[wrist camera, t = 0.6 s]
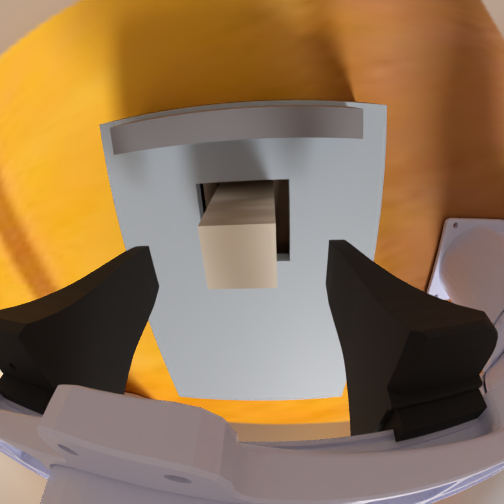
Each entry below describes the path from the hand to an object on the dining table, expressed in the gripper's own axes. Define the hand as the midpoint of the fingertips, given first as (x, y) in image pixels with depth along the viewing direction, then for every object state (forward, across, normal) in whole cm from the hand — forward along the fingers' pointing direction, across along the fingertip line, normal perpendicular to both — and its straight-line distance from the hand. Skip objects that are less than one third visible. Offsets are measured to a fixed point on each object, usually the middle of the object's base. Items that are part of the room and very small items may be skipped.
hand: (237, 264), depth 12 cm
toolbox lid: (+5, 0, +5) cm, 7 cm away
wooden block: (+6, 0, 0) cm, 6 cm away
